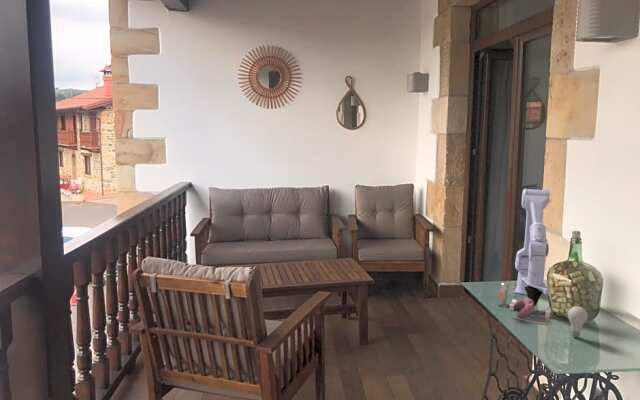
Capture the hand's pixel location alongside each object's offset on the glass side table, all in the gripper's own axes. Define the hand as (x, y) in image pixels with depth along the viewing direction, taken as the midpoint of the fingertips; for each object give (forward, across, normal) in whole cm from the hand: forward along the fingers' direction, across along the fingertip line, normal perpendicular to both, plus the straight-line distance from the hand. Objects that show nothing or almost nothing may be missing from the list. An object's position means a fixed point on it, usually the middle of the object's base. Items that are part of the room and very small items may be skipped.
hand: (532, 305), depth 201 cm
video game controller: (+2, -3, +6) cm, 7 cm away
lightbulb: (+2, -24, +2) cm, 25 cm away
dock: (+2, +1, +3) cm, 4 cm away
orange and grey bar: (-5, +2, +12) cm, 13 cm away
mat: (+2, -7, +6) cm, 9 cm away
